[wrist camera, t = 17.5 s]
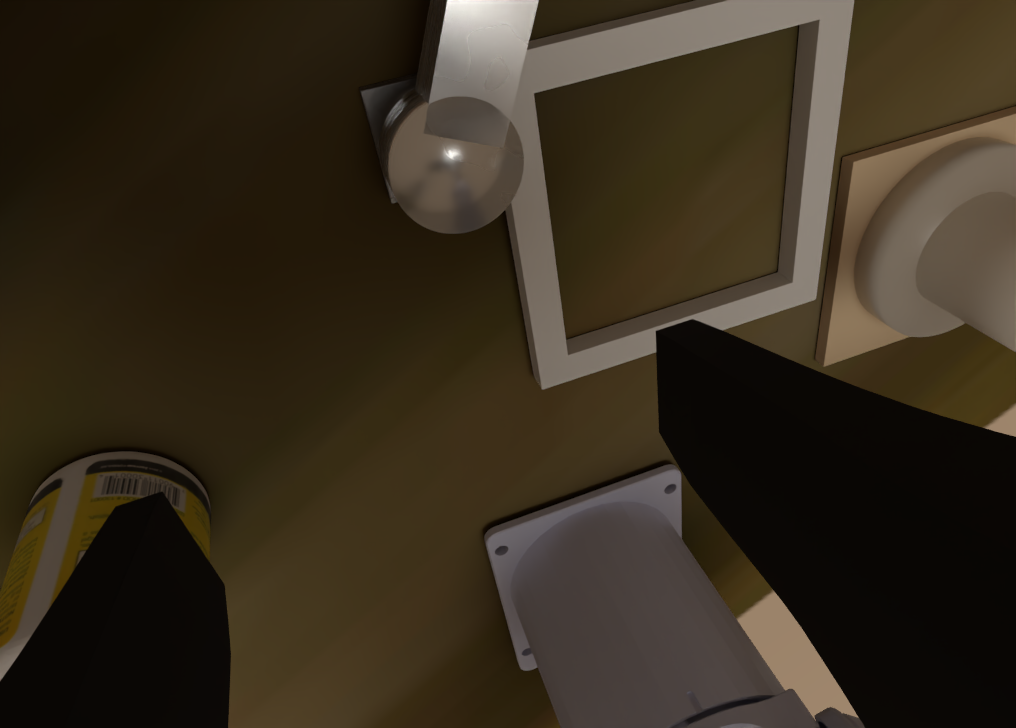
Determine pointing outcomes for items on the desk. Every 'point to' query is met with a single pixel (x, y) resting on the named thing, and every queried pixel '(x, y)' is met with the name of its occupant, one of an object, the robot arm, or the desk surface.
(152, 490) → the supplement bottle
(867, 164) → the coaster
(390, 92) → the thin grey base plate
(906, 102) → the desk surface
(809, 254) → the socket
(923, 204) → the plug
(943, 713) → the robot arm
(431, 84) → the clip
